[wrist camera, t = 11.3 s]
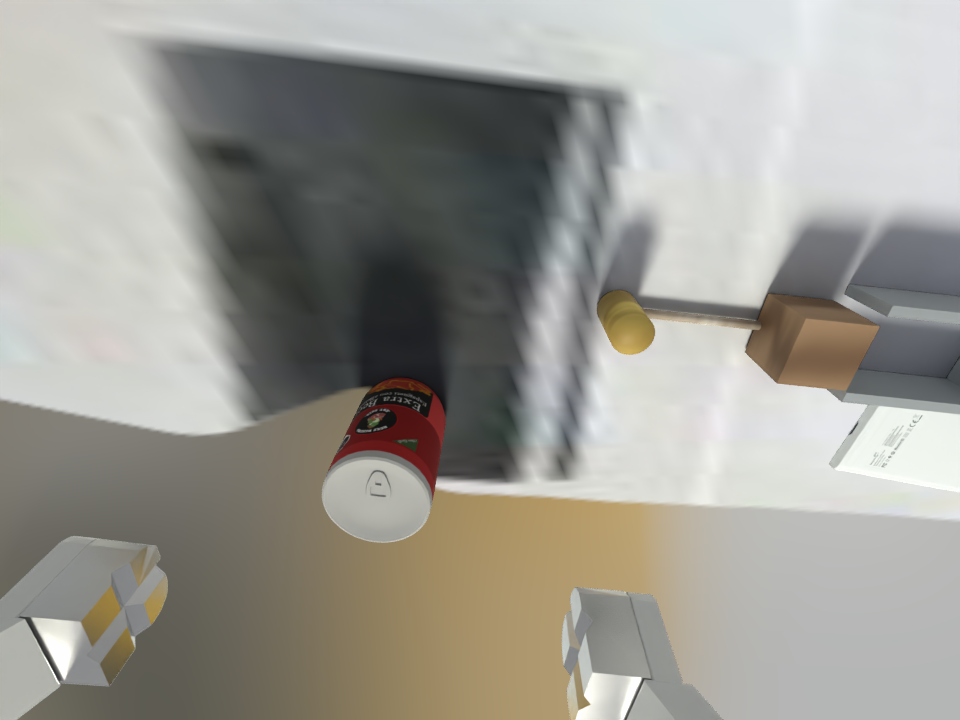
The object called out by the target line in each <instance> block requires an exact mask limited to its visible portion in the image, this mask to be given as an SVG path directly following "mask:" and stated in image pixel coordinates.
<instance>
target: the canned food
mask: <svg viewBox="0 0 960 720" xmlns="http://www.w3.org/2000/svg"><path fill="white" fill-rule="evenodd" d="M444 430H445V413H444V409H443V406H442V404H441V402H440V400H439V398H438V397H437V395H436V394H435V393H434V392H433V391H432V390H431V389H430V388H429V387H428V386H426V385H424V384H423V383H421V382H419V381H416V380H413V379H409V378H392V379H388V380H385V381H383V382H381V383H379V384H378V385H376V386H375V387H373V388H372V389H371V390H370V391H369V392H368V393H367V394H366V395H365V397H364V398H363V400H362V402H361V404H360V406H359V408H358V410H357V413H356V414H355V416H354V418H353V420H352V422H351V424H350V426H349V429H348V430H347V433H346V435H345V437H344V439H343V441H342V443H341V445H340V447H339V449H338V451H337V453H336V455H335V457H334V459H333V462H332V463H331V466H330V469H329V470H328V472H327V475H326V478H325V481H324V484H323V487H322V500H323V505H324V507H325V510H326V512H327V513H328V515H329V517H330V518H331V519H332V521H333V522H335V524H336V525H338V526H339V527H340V528H341V529H343V530H344V531H345V532H347V533H349V534H351V535H353V536H355V537H357V538H360V539H363V540H367V541H372V542H394V541H398V540H402V539H405V538H407V537H409V536H411V535H413V534H414V533H416V532H417V531H418V530H419V529H420V528H421V527H422V526H423V525H424V524H425V522H426V520H427V518H428V516H429V512H430V510H431V505H432V500H433V495H434V491H435V485H436V479H437V472H438V466H439V460H440V454H441V448H442V442H443V436H444Z"/></svg>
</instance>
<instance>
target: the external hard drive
mask: <svg viewBox="0 0 960 720" xmlns="http://www.w3.org/2000/svg"><path fill="white" fill-rule="evenodd" d="M829 465H830V466H831V467H832V468H833V469H836V470H841V471H847V472H852V473H857V474H863V475H868V476H873V477H878V478H884V479H889V480H895V481H900V482H906V483H911V484H916V485H922V486H927V487H933V488H938V489H944V490H950V491H955V492H960V414H951V413H942V412H932V411H923V410H913V409H904V408H894V407H885V406H876V405H868V406H867V408H866V409H865V411H864V412H863V414H862V415H861V417H860V418H859V420H858V425H857V426H856V427H855V429H854V431H853V432H852V433H851V434H849V435H848V436H847V437H846V439H845V440H844V442H843V443H842V445H841V446H840V448H839V449H838V451H837V452H836V454H835V455H834V457H833V458H832V460H831V461H830V463H829Z"/></svg>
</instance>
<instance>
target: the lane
mask: <svg viewBox="0 0 960 720" xmlns="http://www.w3.org/2000/svg"><path fill="white" fill-rule="evenodd" d="M845 295H847V296H849V297H850V298H852V299H854V300H856V301H858V302H860V303H862V304H864V305H866V306H868V307H870V308H871V309H873V310H875V311H877V312H879V313H881V314H883V315H885V316H887V317H894V318H903V319H912V320H922V321H931V322H940V323H949V324H958V325H960V296H953V295H944V294H934V293H925V292H916V291H907V290H898V289H889V288H880V287H870V286H861V285H852V284H849V286H848V288H847V290H846V292H845ZM827 390H828V391H830V392H831V393H832V394H833V395H834V396H835V397H837V398H838V399H839V400H840V401H841V402H847V403H857V404H866V405H876V406H885V407H894V408H904V409H913V410H923V411H932V412H942V413H951V414H960V357H959V359H958V361H957V362H956V364H955V365H954V367H953V368H952V370H951V372H950V373H949V375H948V376H947V378H937V377H928V376H919V375H909V374H900V373H891V372H881V371H872V370H863V369H857V371H856V373H855V375H854V377H853V379H852V381H851V383H850V384H849V386H848V388H847V390H846V391H844V390H834V389H827Z"/></svg>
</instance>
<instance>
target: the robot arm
mask: <svg viewBox="0 0 960 720" xmlns="http://www.w3.org/2000/svg"><path fill="white" fill-rule="evenodd" d="M160 558H161V557H160V554H159V552H158V549H157V546H153V545H145V544H136V543H129V542H120V541H113V540H104V539H97V538H88V537H78V536H71V537H69V538H67V539H65V540H63V541H61V542H60V543H59V544H58V545H57V546H56V547H55V548H54V549H53V550H52V551H51V552H49V553H48V554H47V555H46V556H45V557H44V558H43V559H42V560H41V561H40V562H39V563H38V564H37V565H36V566H35V567H34V568H33V569H32V570H31V571H30V572H29V573H28V574H27V575H26V576H25V577H24V578H23V579H21V580H20V582H18V584H16V585H15V586H14V587H13V588H12V589H11V590H10V591H9V592H8V593H7V594H6V595H5V596H4V597H3V598H2V599H1V600H0V720H17V719H18V718H19V717H21V716H22V715H23V714H25V713H26V712H27V711H29V710H30V709H31V708H32V707H34V706H35V705H36V704H38V703H39V702H40V701H41V700H43V699H44V698H46V697H47V696H48V695H49V694H51V693H52V692H53V691H55V690H56V689H57V688H59V687H60V684H59V683H67V684H82V685H98V686H110V684H111V683H112V682H113V681H114V679H115V678H116V676H117V675H118V673H119V672H120V670H121V669H122V667H123V666H124V664H125V663H126V661H127V660H128V659H129V657H130V656H131V654H132V653H133V651H134V650H135V636H136V635H138V634H139V633H141V632H142V631H144V630H145V629H146V628H148V627H150V626H151V625H152V623H153V622H154V620H155V619H156V617H157V616H158V614H159V613H160V611H161V609H162V606H163V604H164V601H165V598H166V596H167V588H168V581H167V578H166V574H165V573H164V572H163V571H162V570H161V569H159V568H158V567H157V566H156V564H157V562H158V561H159V559H160ZM570 603H571V611H569V612H568V613H566V615H565V619H564V623H563V630H562V654H563V664H564V667H565V669H566V670H567V671H568V673H569V674H570V675H571V679H570V682H569V685H568V689H567V699H568V707H569V715H570V720H723V719H722V718H721V717H720V715H719V714H718V713H717V712H716V711H715V710H714V709H713V708H712V707H711V706H710V704H709V703H708V702H707V701H706V700H705V699H704V698H703V697H702V695H701V694H700V693H699V692H698V691H697V690H696V689H695V687H694V686H693V685H691V684H685V683H683V680H682V677H681V674H680V671H679V668H678V665H677V662H676V659H675V656H674V653H673V650H672V647H671V644H670V641H669V638H668V635H667V632H666V629H665V626H664V623H663V619H662V617H661V613H660V611H659V607H658V604H657V601H656V600H655V598H654V597H653V596H652V595H649V594H639V593H628V592H624V591H614V590H602V589H591V588H579V587H575V588H574V590H573V591H572V594H571V597H570Z"/></svg>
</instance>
